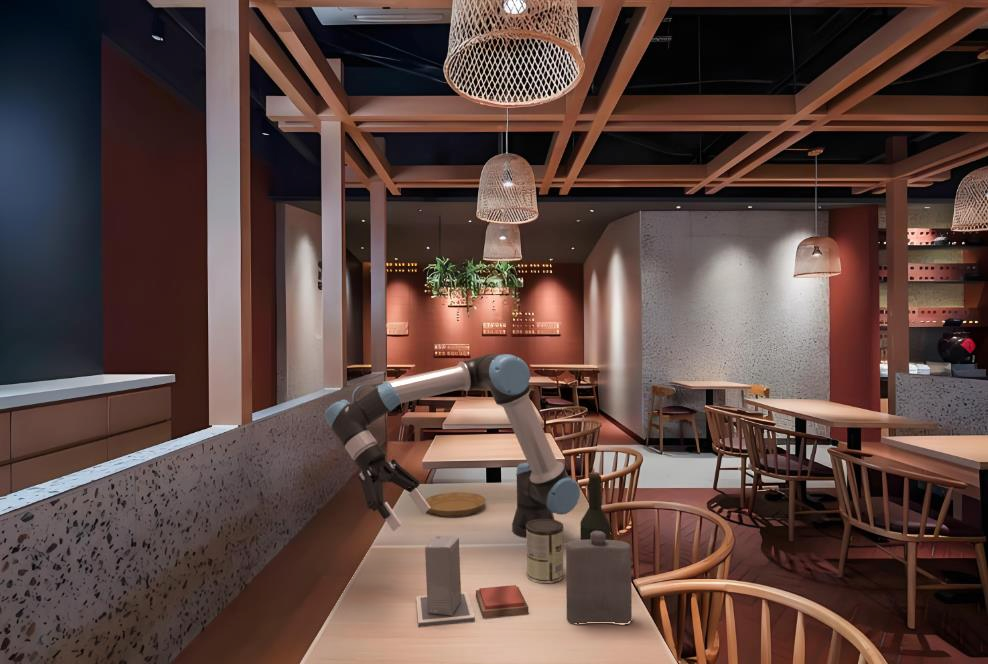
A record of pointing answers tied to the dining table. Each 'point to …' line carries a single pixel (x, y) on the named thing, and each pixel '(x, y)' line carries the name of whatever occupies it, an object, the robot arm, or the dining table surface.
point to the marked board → (459, 616)
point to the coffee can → (544, 550)
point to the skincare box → (443, 575)
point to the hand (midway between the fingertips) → (412, 519)
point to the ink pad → (501, 601)
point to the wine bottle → (594, 511)
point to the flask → (598, 580)
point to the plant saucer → (455, 503)
